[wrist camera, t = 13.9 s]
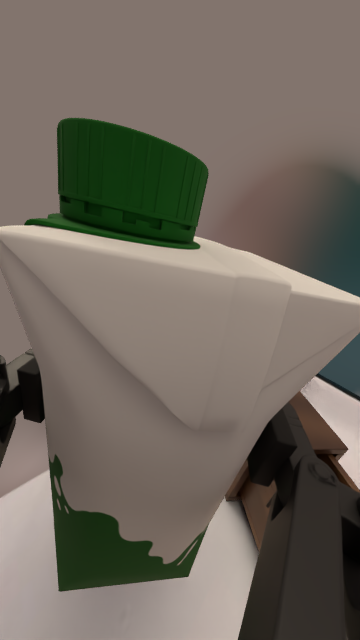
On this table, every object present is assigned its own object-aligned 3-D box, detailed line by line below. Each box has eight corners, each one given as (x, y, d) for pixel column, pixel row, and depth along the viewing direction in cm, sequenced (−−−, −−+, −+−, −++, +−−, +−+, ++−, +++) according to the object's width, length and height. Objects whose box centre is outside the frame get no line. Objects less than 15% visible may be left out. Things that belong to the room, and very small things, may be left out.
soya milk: (82, 445, 18) (90, 162, 9) (186, 447, 20) (271, 211, 11) (29, 626, 10) (-223, -95, 2) (208, 601, 12) (548, 211, 3)
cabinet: (306, 496, 28) (349, 449, 24) (226, 501, 26) (257, 449, 21) (258, 410, 40) (281, 368, 36) (200, 408, 38) (217, 362, 33)
